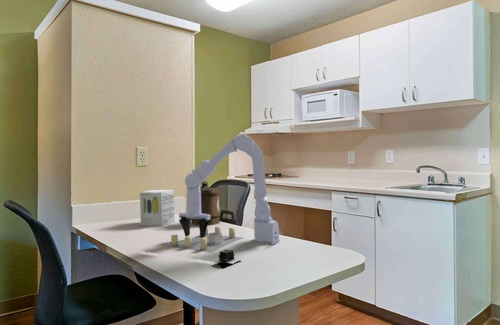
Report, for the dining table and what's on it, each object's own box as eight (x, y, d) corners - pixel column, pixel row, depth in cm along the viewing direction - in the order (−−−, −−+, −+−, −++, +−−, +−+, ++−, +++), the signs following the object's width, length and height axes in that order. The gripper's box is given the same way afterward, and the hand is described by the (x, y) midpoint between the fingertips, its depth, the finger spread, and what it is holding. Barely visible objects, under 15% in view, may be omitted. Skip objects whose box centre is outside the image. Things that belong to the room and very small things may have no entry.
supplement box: (139, 225, 182) (138, 192, 182) (153, 220, 195) (153, 189, 195) (162, 226, 179) (161, 192, 178) (175, 221, 191) (174, 189, 191)
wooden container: (225, 222, 185) (224, 180, 185) (202, 226, 175) (201, 182, 174) (208, 219, 196) (207, 180, 195) (185, 223, 186) (184, 181, 185)
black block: (231, 258, 121) (230, 245, 121) (247, 262, 116) (247, 248, 116) (205, 268, 111) (205, 253, 111) (222, 272, 106) (222, 257, 106)
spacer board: (243, 239, 145) (243, 227, 145) (210, 255, 124) (210, 240, 124) (204, 235, 154) (204, 224, 154) (167, 249, 133) (166, 236, 133)
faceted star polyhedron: (225, 242, 138) (224, 233, 138) (218, 245, 133) (217, 235, 133) (213, 240, 141) (212, 232, 140) (205, 243, 136) (205, 234, 136)
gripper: (173, 203, 141) (174, 237, 142) (202, 205, 135) (203, 240, 135) (184, 201, 148) (185, 233, 148) (213, 202, 141) (214, 236, 141)
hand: (194, 236), depth 142 cm, fingers open, 7 cm apart
